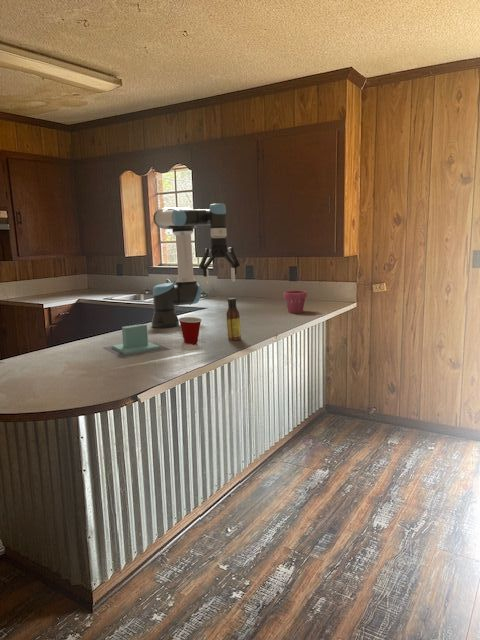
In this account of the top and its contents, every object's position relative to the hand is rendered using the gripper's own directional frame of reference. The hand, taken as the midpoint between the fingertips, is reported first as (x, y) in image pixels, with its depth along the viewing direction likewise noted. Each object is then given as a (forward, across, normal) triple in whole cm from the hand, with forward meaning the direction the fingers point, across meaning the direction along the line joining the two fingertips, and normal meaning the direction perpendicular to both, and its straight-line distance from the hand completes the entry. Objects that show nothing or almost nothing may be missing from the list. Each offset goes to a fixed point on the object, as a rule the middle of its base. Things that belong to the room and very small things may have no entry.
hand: (220, 282), depth 234 cm
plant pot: (+27, +69, +44) cm, 86 cm away
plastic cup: (+27, -18, -5) cm, 33 cm away
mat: (+27, -43, -3) cm, 51 cm away
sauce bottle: (+27, +3, -7) cm, 28 cm away
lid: (+26, -43, -3) cm, 51 cm away
